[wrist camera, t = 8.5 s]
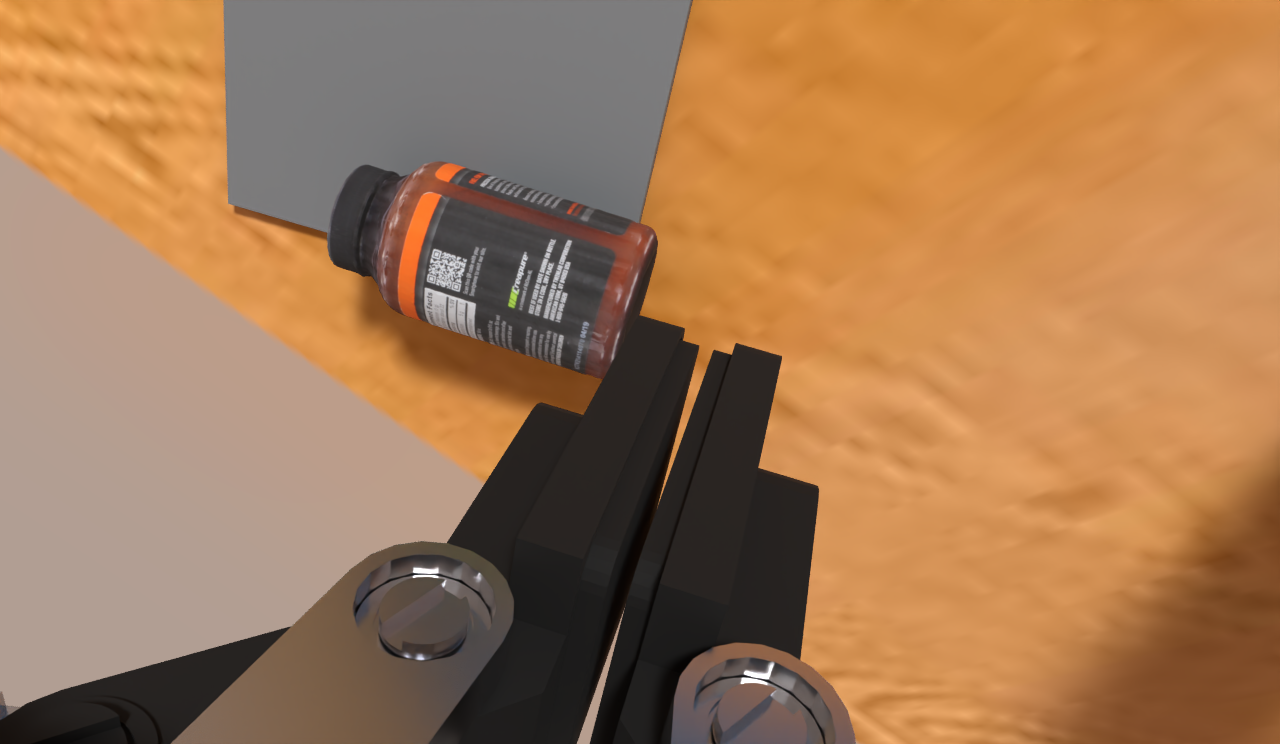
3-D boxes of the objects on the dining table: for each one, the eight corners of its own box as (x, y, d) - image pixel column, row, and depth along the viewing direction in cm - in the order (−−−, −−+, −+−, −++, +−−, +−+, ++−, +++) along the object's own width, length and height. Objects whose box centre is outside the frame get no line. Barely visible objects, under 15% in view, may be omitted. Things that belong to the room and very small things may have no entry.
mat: (712, -82, 30) (709, -81, 30) (619, 310, 38) (616, 317, 37) (229, -211, 31) (218, -212, 30) (236, 198, 39) (228, 203, 38)
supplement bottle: (660, 259, 37) (399, 172, 38) (668, 206, 31) (358, 104, 32) (612, 397, 36) (344, 306, 36) (611, 368, 30) (291, 261, 31)
